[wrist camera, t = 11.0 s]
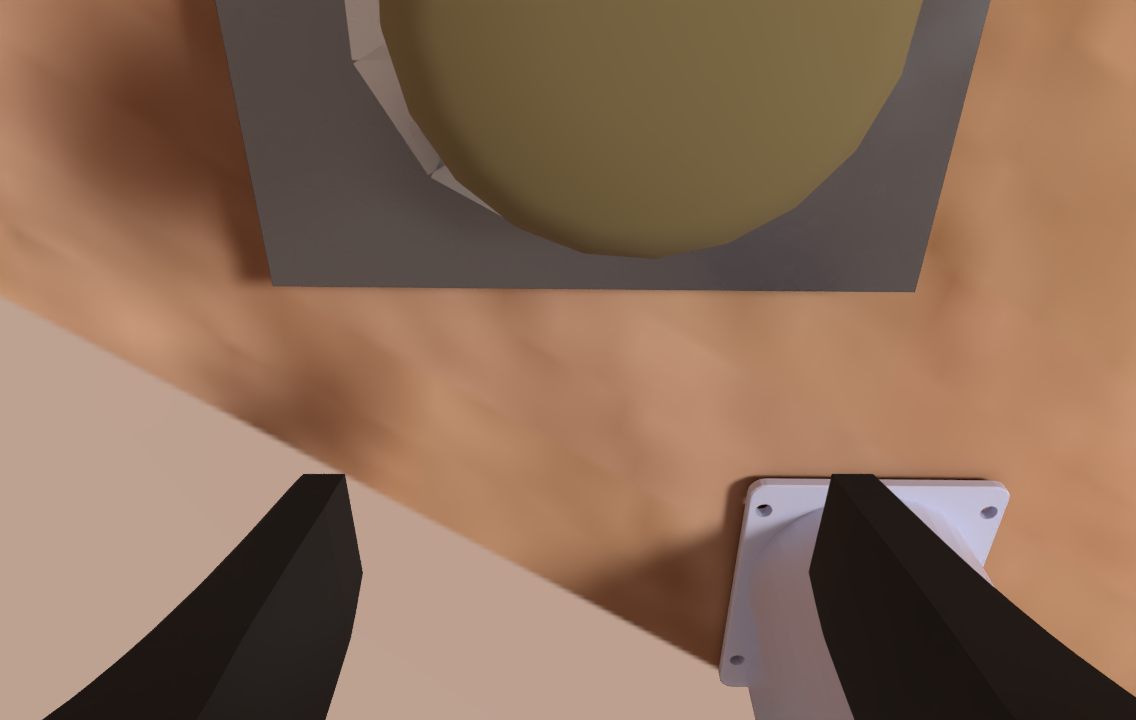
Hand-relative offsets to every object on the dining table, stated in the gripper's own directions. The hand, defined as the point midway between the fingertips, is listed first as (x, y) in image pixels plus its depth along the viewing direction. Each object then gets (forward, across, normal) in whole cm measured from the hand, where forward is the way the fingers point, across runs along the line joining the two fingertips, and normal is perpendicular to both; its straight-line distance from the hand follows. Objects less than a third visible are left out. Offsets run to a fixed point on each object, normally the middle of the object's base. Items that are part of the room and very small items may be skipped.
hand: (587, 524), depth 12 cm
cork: (+9, 0, -7) cm, 12 cm away
